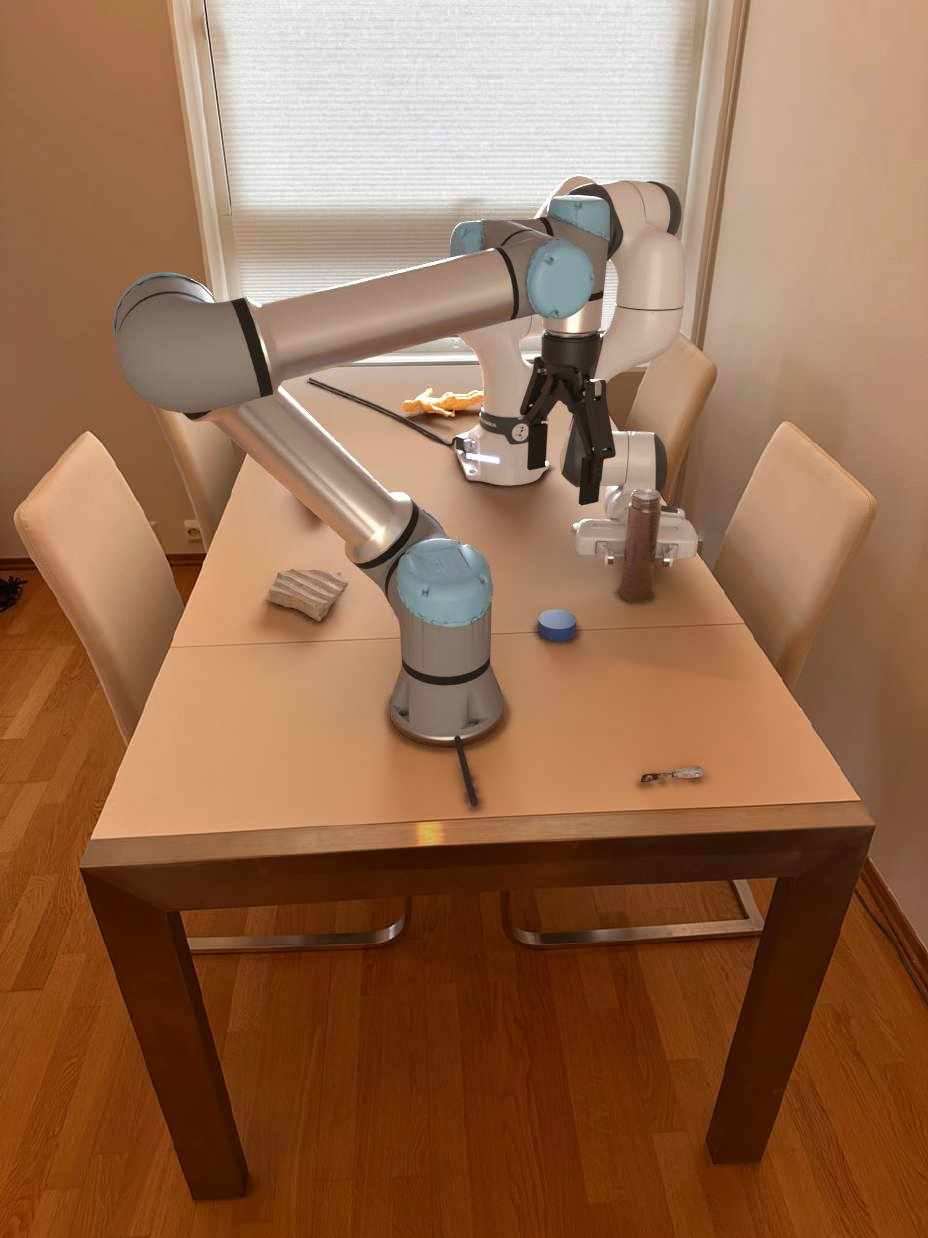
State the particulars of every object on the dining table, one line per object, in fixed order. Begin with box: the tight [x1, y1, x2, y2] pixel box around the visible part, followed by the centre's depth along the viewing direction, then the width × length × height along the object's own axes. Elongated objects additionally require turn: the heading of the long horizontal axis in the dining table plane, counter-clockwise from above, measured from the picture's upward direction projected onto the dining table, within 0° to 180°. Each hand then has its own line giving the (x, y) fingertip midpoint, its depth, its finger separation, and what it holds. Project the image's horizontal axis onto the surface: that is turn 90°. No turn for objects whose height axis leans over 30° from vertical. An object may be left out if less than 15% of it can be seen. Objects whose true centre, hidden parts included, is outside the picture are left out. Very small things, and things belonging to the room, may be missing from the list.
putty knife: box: [640, 765, 705, 784], centre depth 109 cm, size 1×8×2 cm, turn 103°
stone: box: [267, 568, 349, 622], centre depth 146 cm, size 13×12×2 cm
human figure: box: [402, 385, 483, 418], centre depth 225 cm, size 20×20×4 cm
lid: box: [537, 608, 577, 642], centre depth 138 cm, size 6×6×2 cm
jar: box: [619, 488, 662, 603], centre depth 143 cm, size 5×5×18 cm
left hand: (561, 484), depth 125 cm, fingers open, 13 cm apart
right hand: (638, 561), depth 144 cm, fingers open, 8 cm apart
